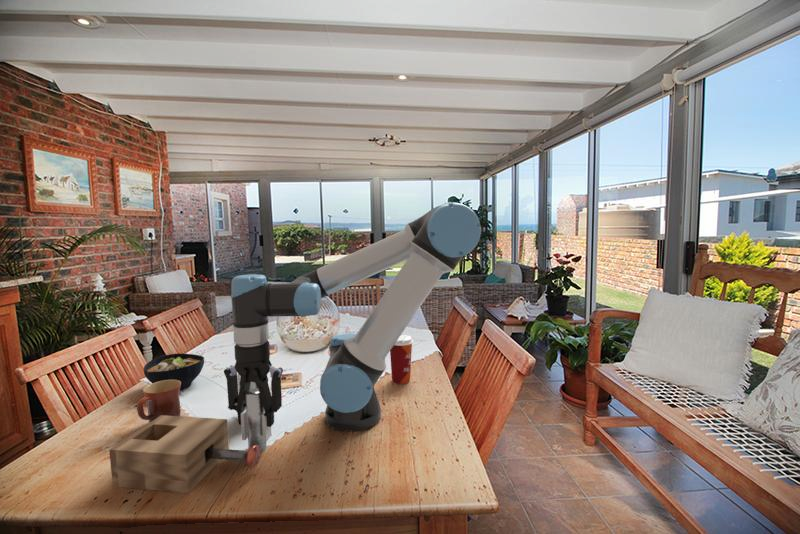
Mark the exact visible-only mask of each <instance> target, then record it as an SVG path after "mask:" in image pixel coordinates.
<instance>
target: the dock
mask: <svg viewBox="0 0 800 534" xmlns="http://www.w3.org/2000/svg"><path fill="white" fill-rule="evenodd" d="M228 428H229V427H228V419H227V418H213V417H198V416H197V417H196V416H181V415H180V416H166V415H161V416H159V417H158V418H156V419H155V420H153V421H152V422H150V423H149V422H148V423H147V424H145V425H144V426H142V427H141V428H139V429H138V430H136V431H135V432H134V433H132V434H130V435H129V436H128V437H126V438H125V439H123V440H121V441H120V442H119V443H117V444H115V445H113V446H112V447H111V448H109V449H108V450H109V461H110V462H109V463H110V470H111V471H110V473H111V481H112V487H114V488H115V487H116V488H124V489H125V488H127V489H138V490H147V491H148V490H150V491H158V492H160V491H161V492H171V493H184V494H190V493H191V491H193V490H194V488H196V486H198V485H199V483H200V482H201V481H202V480H203V479H204V478H205V477H206V476H207V475H208V474H209V473H210V472H212V470H213V469H214V468H215V467H216V466H217V465H218V464H219V463H220V462H221V461H223V460H222V459H209V458H205V450H206V449H207V448H216V449H230V444H229V429H228Z"/></svg>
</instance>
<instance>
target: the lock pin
mask: <svg viewBox="0 0 800 534" xmlns="http://www.w3.org/2000/svg"><path fill="white" fill-rule="evenodd" d="M261 454H262V452H261V449H260V446H259V445H252V446H251V447H250V448H249V450H248V449H247V450H242V449H230V448H229V449H216V448H207V449H206V450H205V458H209V459H222V460H221V461H223V460H226V461H240V462H245V465H246V468H247V469H256V467H257V466H258V464H259V462H260V459H261Z"/></svg>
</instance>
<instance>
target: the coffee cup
mask: <svg viewBox="0 0 800 534" xmlns="http://www.w3.org/2000/svg"><path fill="white" fill-rule="evenodd" d="M413 343H414V340H413V338H412V336H410V335H407V334H401V335H400V337H399V338H398V340H397V341H396V343H395V344H394V346H393V347H392V349H391V350H390V351H389V355H390V367H391V380H392V383H394V384H395V385H406V384H409V383H410V382H411V381H410V380H411V371H412V370H411V367H412V366H411V365H412V352H413V349H412V347H413Z"/></svg>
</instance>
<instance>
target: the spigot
mask: <svg viewBox="0 0 800 534" xmlns="http://www.w3.org/2000/svg"><path fill="white" fill-rule="evenodd" d="M245 396H246V414H247V433H248V438H247V451H248V450H249V448H250V447H251V446H252V445H259V446H260V449H261V453H262V452H264V451H265V450H266V449H267V442H263V428H262V414H263V413H264V412H265V411H264V407H263V404H262V400H261V396H260V393H259V389H258V388H255V389H251V390H248V391H247V392H246V393H245Z"/></svg>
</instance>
